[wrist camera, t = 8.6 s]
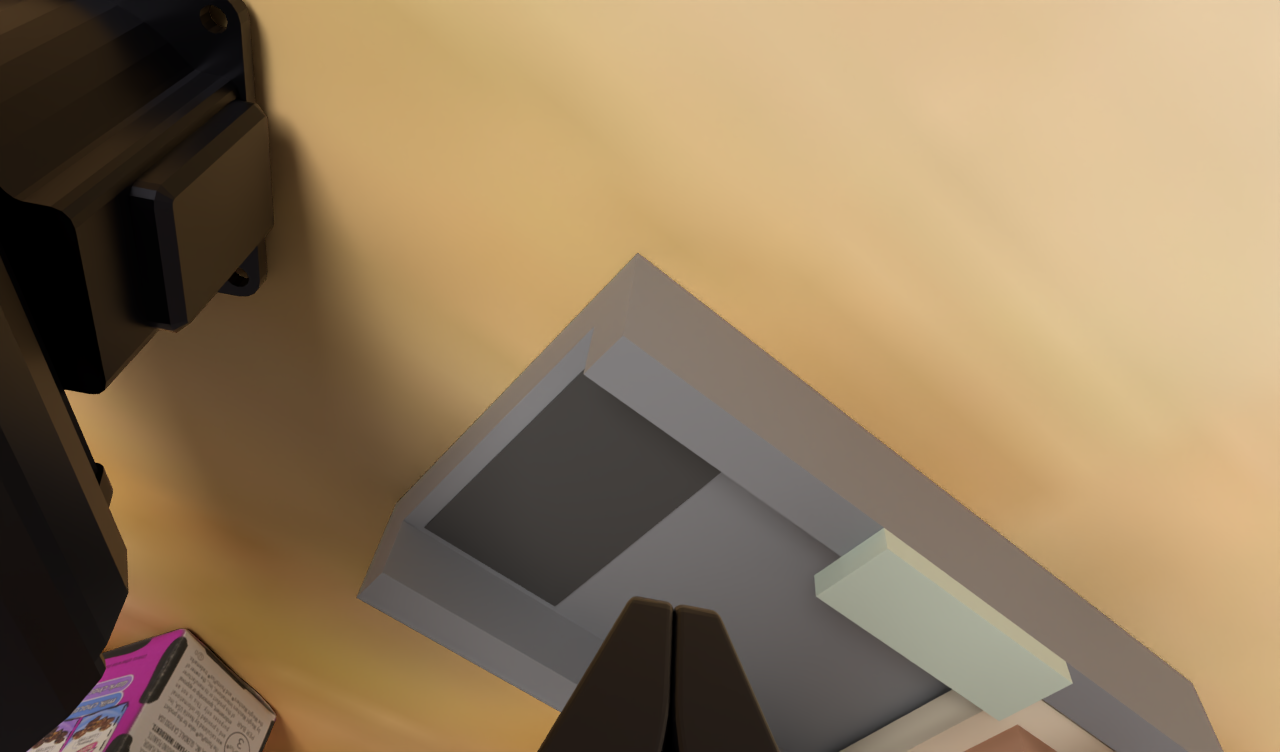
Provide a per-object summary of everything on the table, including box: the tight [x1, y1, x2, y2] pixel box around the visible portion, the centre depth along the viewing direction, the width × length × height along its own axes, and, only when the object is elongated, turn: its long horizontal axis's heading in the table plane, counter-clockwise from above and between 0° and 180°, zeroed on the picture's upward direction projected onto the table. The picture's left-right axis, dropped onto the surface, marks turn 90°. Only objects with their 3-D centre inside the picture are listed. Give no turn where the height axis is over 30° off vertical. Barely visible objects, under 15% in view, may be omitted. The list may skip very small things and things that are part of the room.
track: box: [356, 253, 1223, 752], centre depth 24 cm, size 20×10×4 cm, turn 50°
